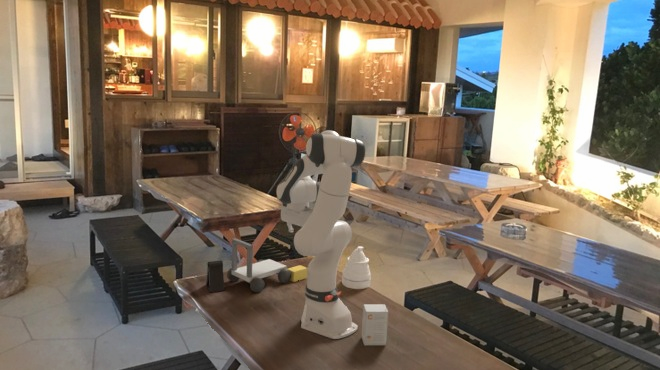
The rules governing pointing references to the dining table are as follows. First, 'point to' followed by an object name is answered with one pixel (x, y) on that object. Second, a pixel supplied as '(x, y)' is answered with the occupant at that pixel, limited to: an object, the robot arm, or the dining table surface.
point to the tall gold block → (298, 273)
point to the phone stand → (215, 276)
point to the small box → (374, 324)
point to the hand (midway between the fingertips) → (298, 234)
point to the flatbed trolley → (255, 268)
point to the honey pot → (356, 270)
